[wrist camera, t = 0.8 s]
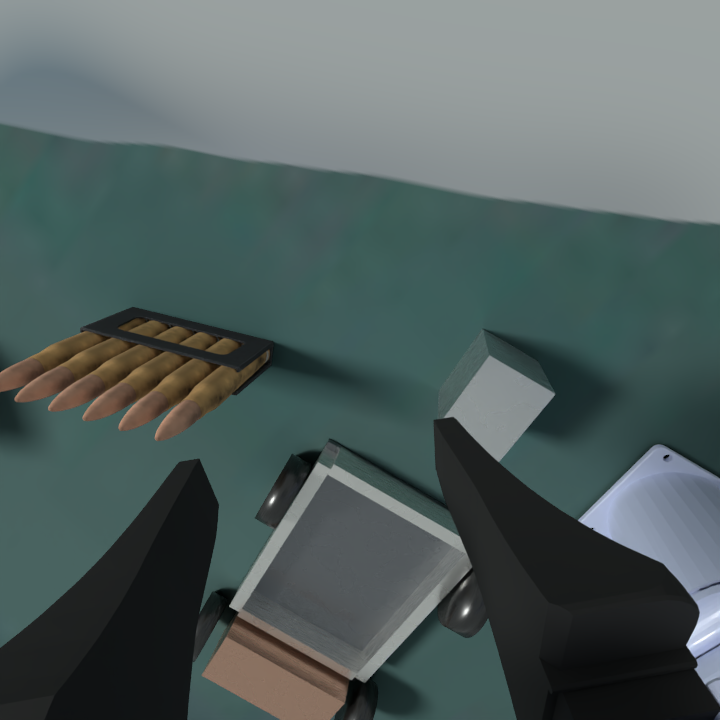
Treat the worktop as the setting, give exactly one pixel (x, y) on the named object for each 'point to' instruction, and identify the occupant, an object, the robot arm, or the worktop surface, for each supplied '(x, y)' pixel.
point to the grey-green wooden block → (495, 393)
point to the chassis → (338, 589)
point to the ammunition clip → (142, 369)
